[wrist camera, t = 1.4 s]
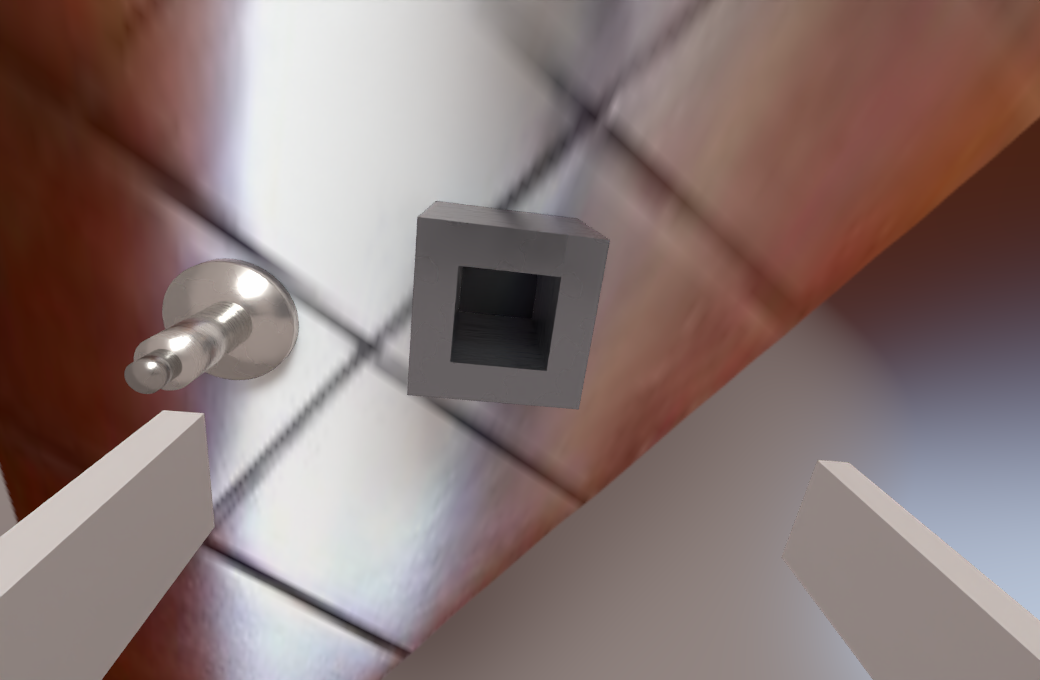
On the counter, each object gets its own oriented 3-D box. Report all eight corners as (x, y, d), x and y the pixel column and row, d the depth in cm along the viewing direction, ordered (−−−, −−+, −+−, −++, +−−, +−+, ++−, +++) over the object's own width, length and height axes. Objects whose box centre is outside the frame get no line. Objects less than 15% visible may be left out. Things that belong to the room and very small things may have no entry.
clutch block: (436, 201, 28) (417, 216, 20) (577, 218, 29) (609, 239, 21) (426, 336, 30) (407, 394, 23) (556, 348, 31) (578, 409, 24)
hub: (166, 251, 28) (38, 289, 20) (297, 265, 29) (224, 307, 21) (179, 367, 30) (68, 442, 22) (299, 378, 31) (235, 454, 23)
